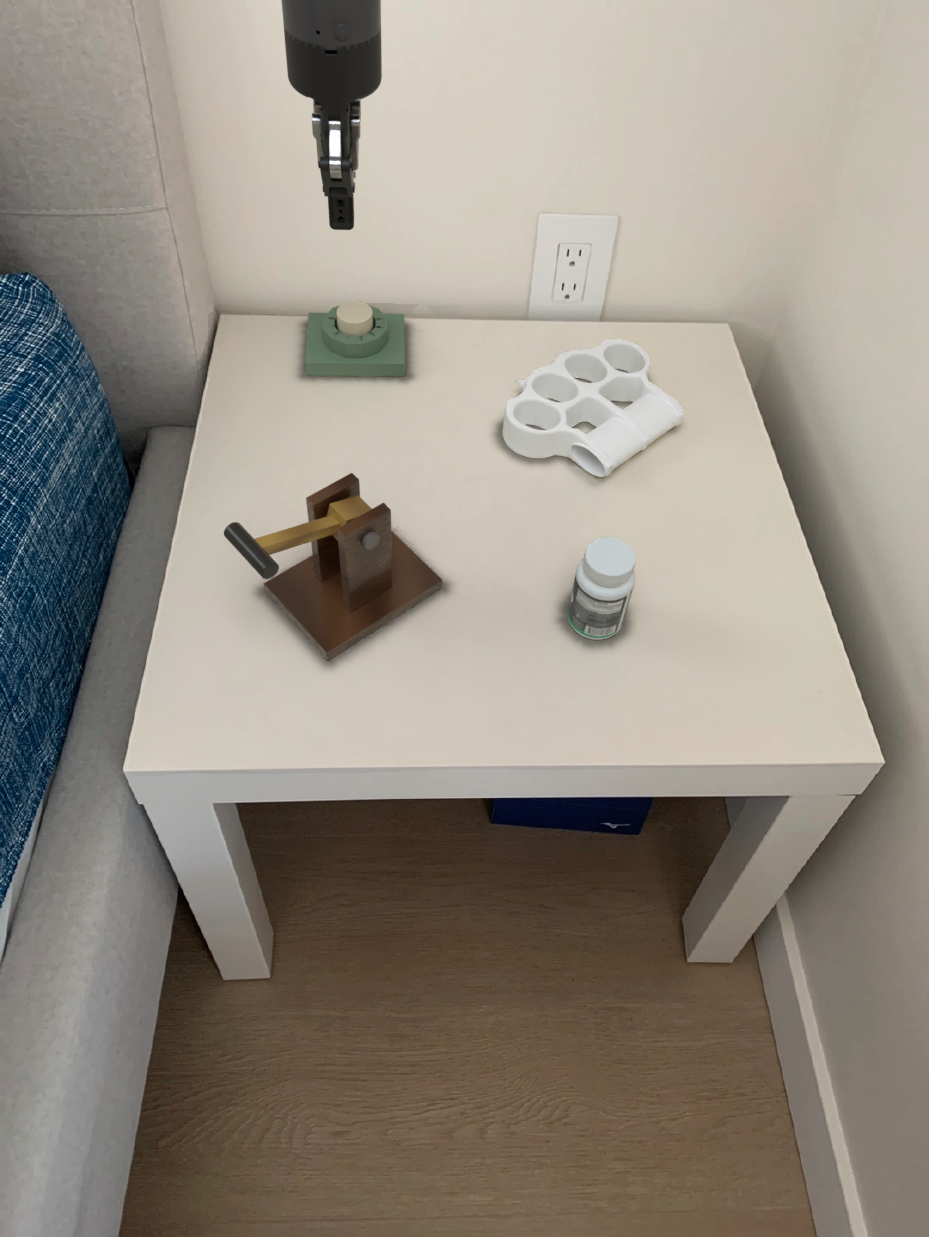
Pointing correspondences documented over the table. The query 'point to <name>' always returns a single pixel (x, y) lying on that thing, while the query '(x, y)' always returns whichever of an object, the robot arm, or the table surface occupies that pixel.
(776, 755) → the table surface
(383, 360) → the button block
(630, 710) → the table surface
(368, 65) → the robot arm
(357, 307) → the button
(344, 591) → the switch bracket
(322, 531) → the switch lever
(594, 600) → the pill bottle
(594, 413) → the knuckle duster
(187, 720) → the table surface
